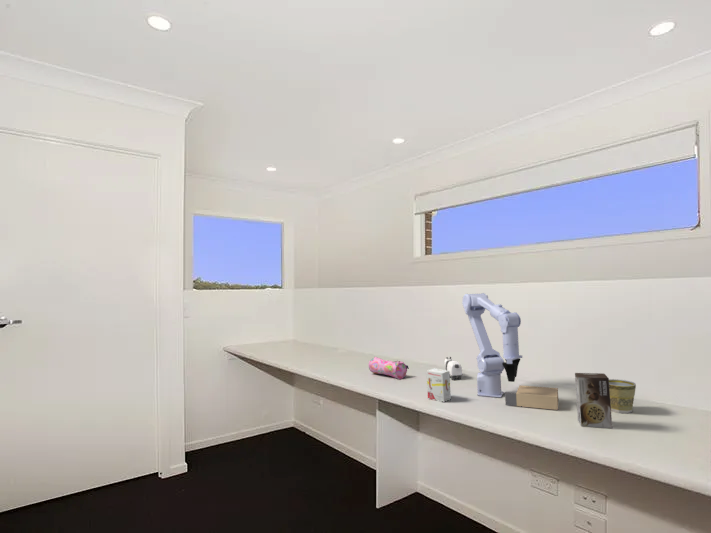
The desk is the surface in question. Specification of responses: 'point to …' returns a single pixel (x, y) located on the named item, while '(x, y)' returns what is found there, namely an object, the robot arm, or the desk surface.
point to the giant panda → (453, 368)
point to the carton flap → (531, 400)
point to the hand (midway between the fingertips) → (512, 379)
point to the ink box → (438, 384)
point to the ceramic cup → (621, 395)
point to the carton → (538, 391)
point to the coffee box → (593, 400)
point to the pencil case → (388, 367)
